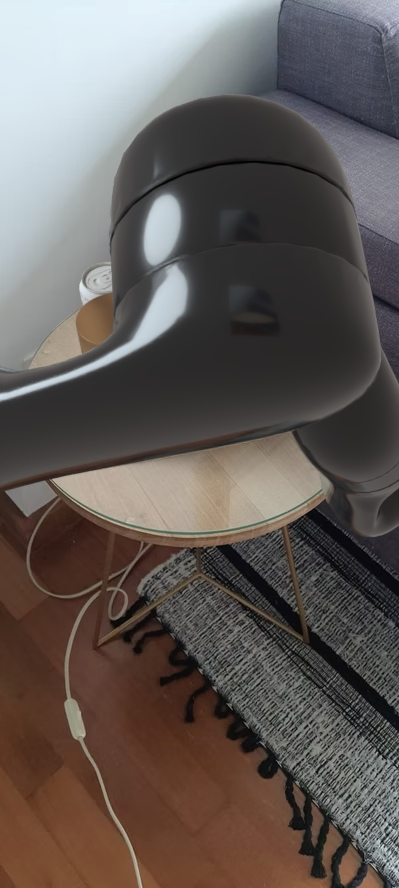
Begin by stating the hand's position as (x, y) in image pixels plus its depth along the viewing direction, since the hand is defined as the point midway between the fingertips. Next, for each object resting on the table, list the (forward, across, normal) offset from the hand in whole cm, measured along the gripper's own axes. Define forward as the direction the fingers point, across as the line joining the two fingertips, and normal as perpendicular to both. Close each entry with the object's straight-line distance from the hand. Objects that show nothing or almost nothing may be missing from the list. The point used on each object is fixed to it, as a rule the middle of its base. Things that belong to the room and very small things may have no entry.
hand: (215, 237), depth 71 cm
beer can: (+5, +11, +20) cm, 24 cm away
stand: (-5, +13, +20) cm, 24 cm away
